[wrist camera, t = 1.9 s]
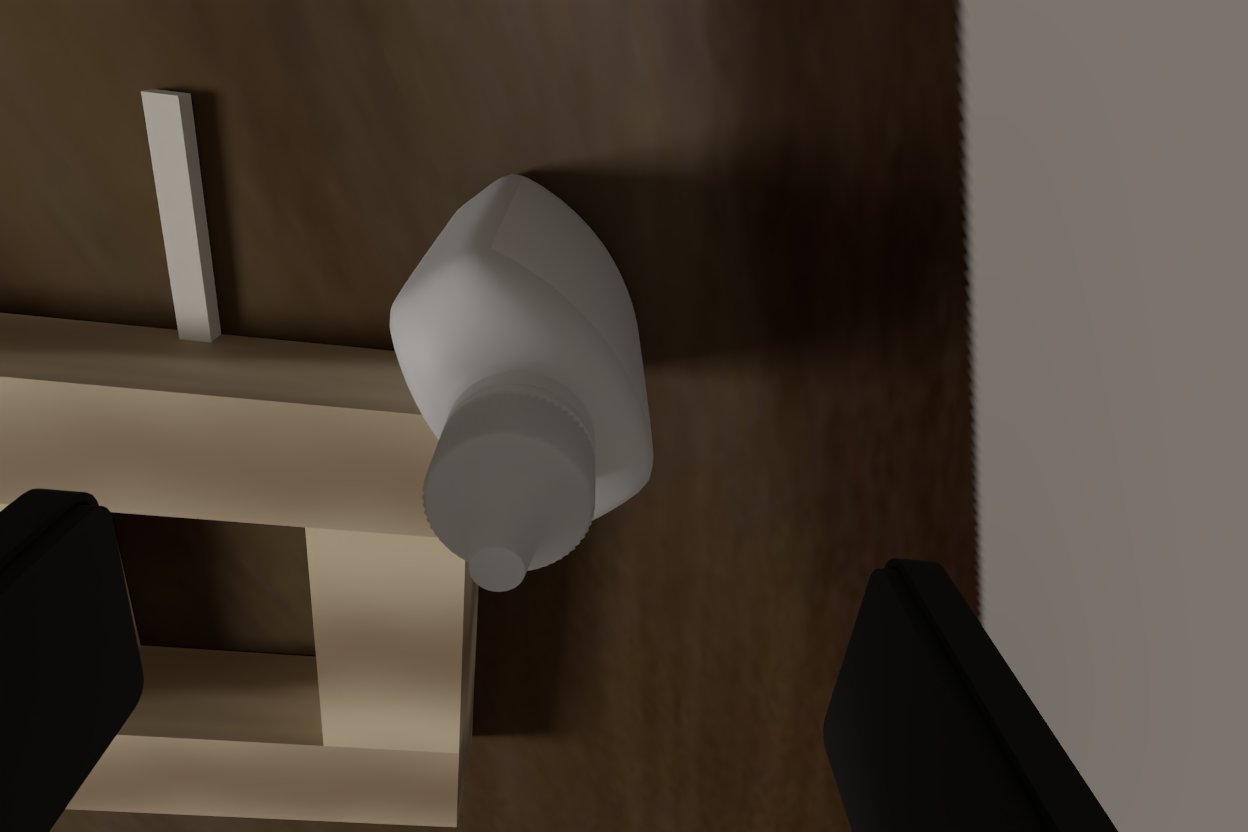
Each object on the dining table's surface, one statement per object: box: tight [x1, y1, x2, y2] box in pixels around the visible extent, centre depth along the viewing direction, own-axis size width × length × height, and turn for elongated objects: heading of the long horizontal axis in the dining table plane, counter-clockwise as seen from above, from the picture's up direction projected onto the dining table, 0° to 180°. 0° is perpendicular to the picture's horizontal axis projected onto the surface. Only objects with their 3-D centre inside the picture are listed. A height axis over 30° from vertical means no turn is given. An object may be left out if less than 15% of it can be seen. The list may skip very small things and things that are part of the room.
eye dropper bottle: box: [390, 174, 653, 592], centre depth 15 cm, size 4×6×12 cm
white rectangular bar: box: [141, 89, 221, 343], centre depth 19 cm, size 6×1×1 cm, turn 173°
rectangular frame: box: [0, 313, 479, 827], centre depth 22 cm, size 15×15×4 cm
